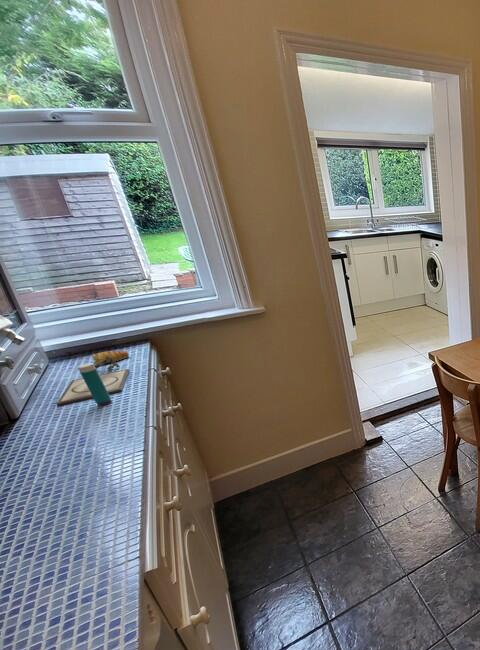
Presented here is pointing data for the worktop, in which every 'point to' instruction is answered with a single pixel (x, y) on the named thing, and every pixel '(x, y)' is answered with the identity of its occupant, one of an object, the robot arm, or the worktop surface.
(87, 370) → the dot marker
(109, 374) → the drawing board
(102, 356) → the pastry
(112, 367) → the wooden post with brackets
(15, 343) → the robot arm
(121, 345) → the worktop surface
